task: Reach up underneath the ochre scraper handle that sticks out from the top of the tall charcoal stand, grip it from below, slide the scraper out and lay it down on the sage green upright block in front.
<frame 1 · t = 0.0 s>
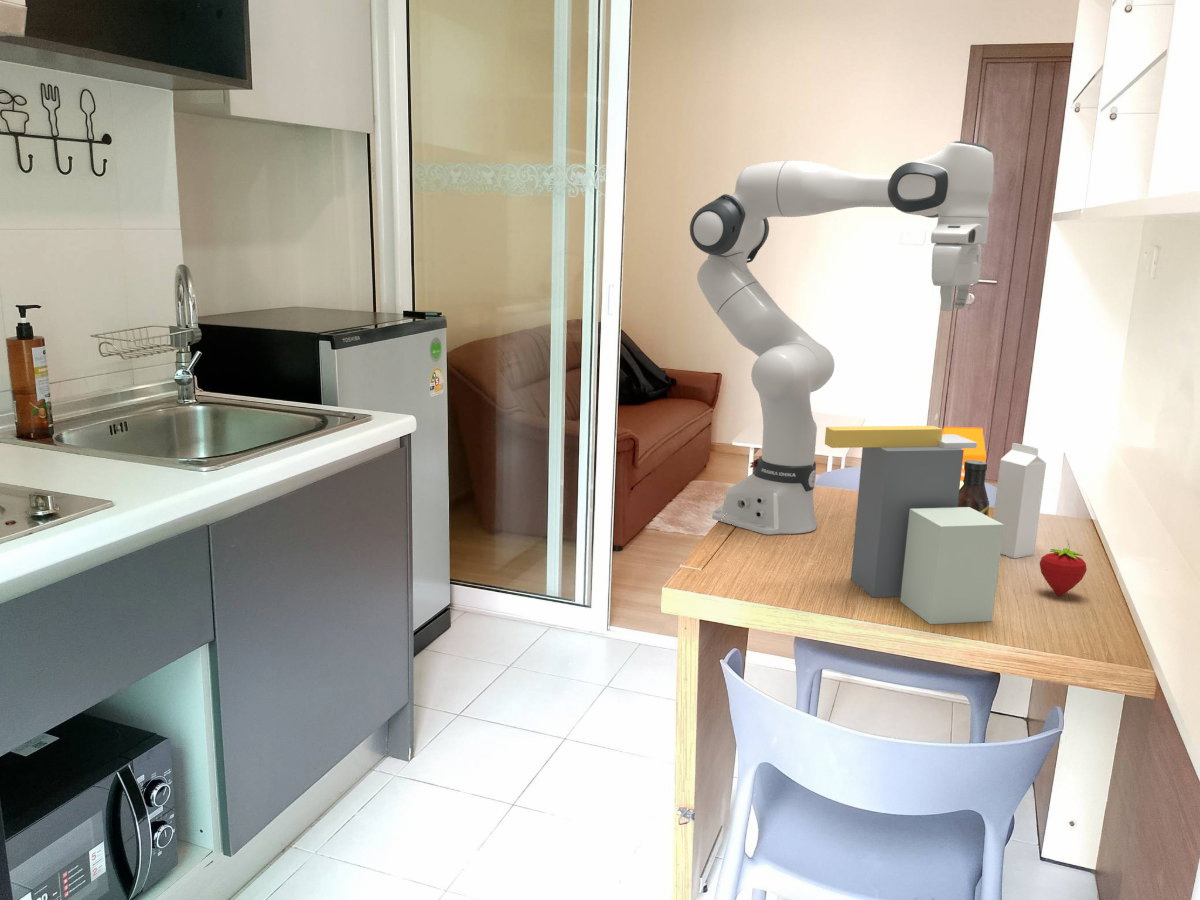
hand: (953, 309, 178), 48 cm above the table, tool pointing down, fingers open, 8 cm apart
sage green upright block: (945, 610, 160), on the table
scraper: (883, 445, 164), point 26 cm above the table, touching tall stand
strawberry: (1058, 596, 169), on the table
milk: (1011, 553, 191), on the table
sauce bottle: (965, 562, 185), on the table
orange juice: (953, 513, 218), on the table
tall stand: (898, 586, 170), on the table
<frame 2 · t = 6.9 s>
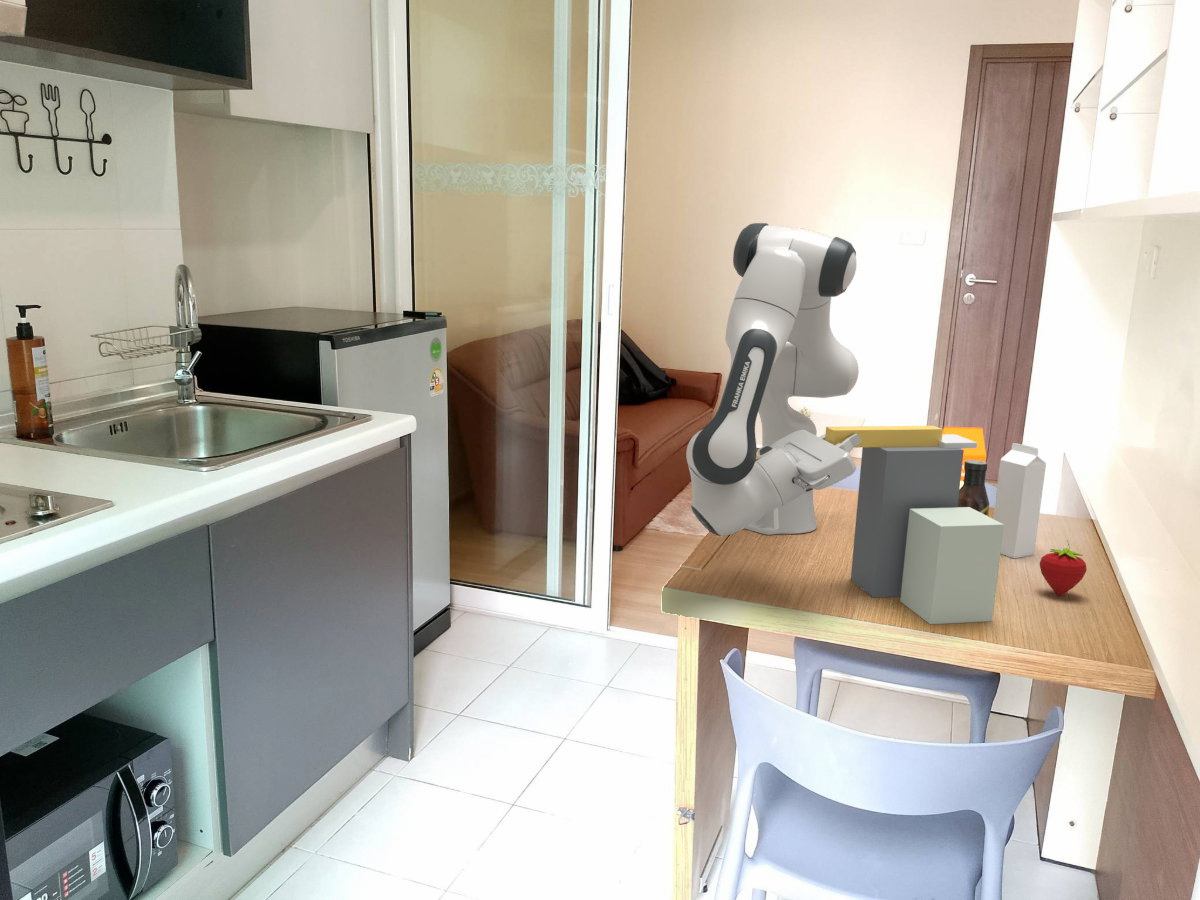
hand: (852, 434, 162), 28 cm above the table, tool pointing upward, fingers closed on scraper, 3 cm apart
scraper: (883, 445, 164), point 26 cm above the table, touching gripper, tall stand
everything else where it was.
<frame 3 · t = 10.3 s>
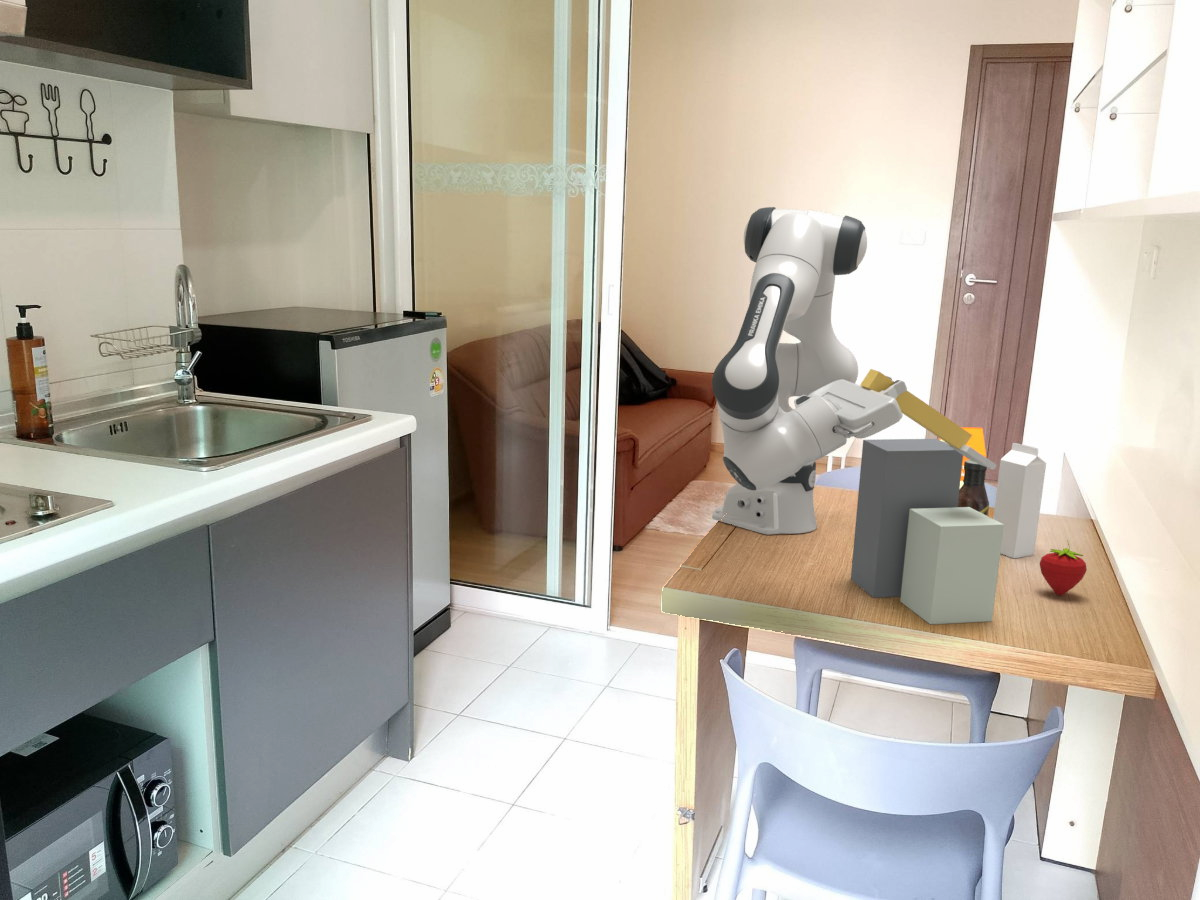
hand: (896, 382, 151), 38 cm above the table, tool pointing upward, fingers closed on scraper, 3 cm apart
scraper: (911, 418, 153), point 33 cm above the table, tilted 31°, touching gripper
everything else where it was.
when the fingers open (20 cm above the table, at t = 14.5 s): scraper stays where it is, resting on sage green upright block.
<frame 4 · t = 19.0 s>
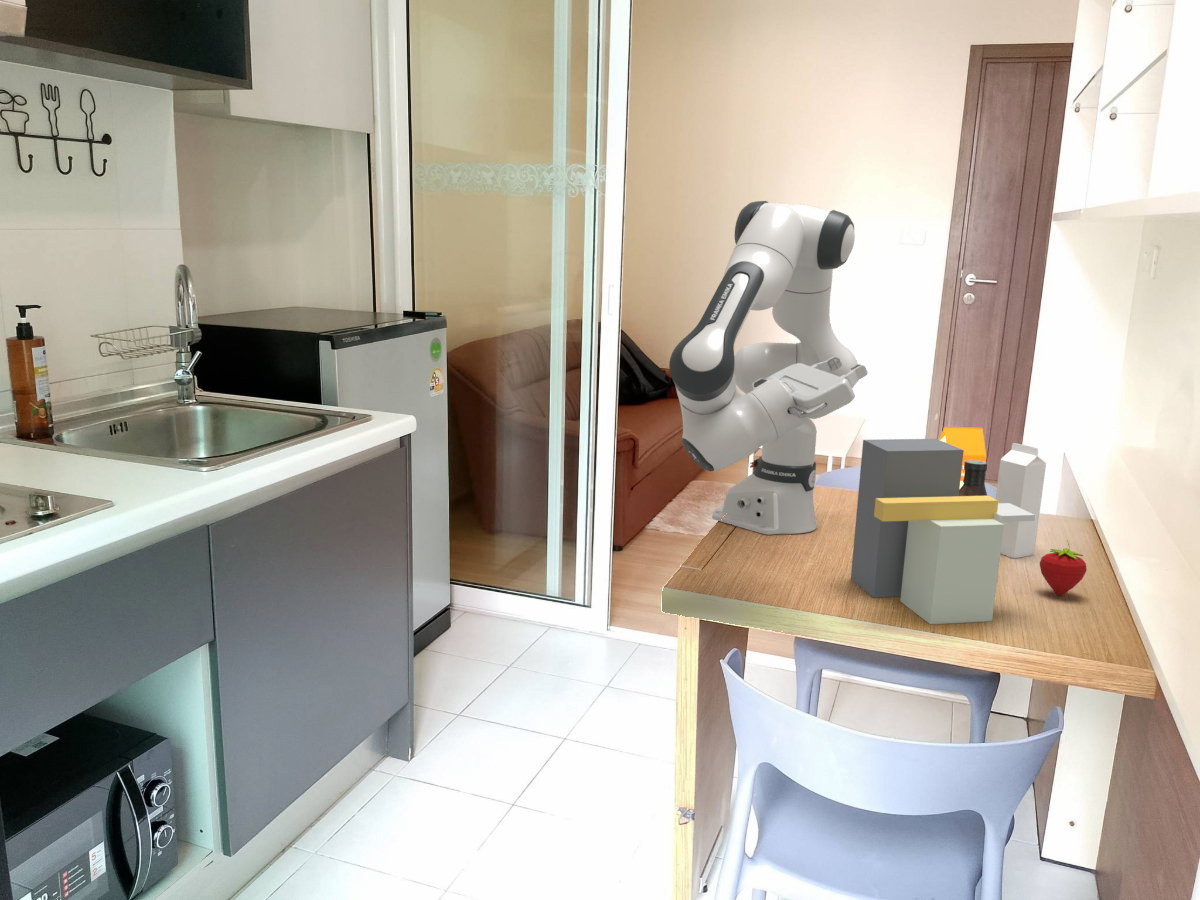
hand: (851, 364, 155), 40 cm above the table, tool pointing upward, fingers open, 8 cm apart
scraper: (935, 517, 155), point 16 cm above the table, touching sage green upright block
everything else where it was.
at the end: scraper inside the target area (1.4 cm from its centre), point 16.5 cm above the table; scraper touching sage green upright block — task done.
